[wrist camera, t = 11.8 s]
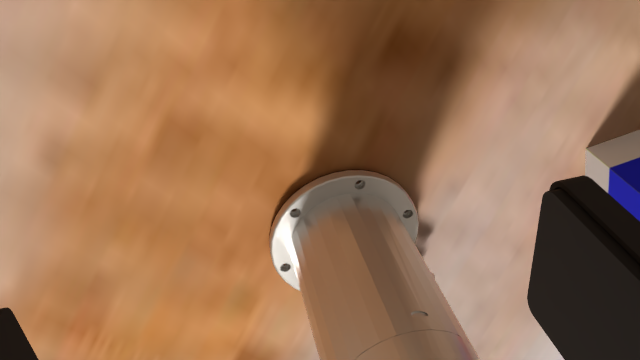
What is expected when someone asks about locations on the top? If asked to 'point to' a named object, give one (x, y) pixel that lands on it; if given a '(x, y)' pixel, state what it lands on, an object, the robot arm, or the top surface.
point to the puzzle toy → (617, 169)
